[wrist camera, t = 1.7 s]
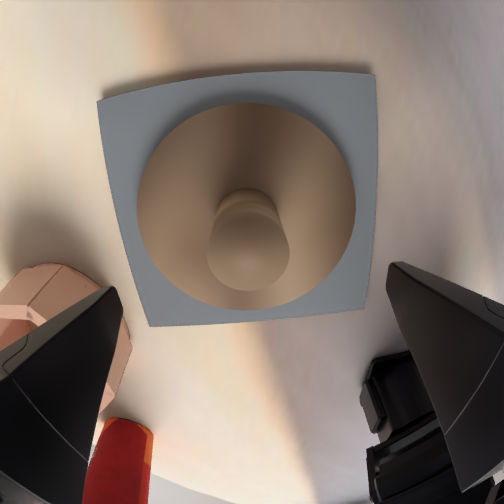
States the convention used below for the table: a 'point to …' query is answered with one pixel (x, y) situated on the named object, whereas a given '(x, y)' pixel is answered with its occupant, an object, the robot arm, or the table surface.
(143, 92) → the mat
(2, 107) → the table surface
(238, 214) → the lid
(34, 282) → the bowl
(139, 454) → the paper cup
